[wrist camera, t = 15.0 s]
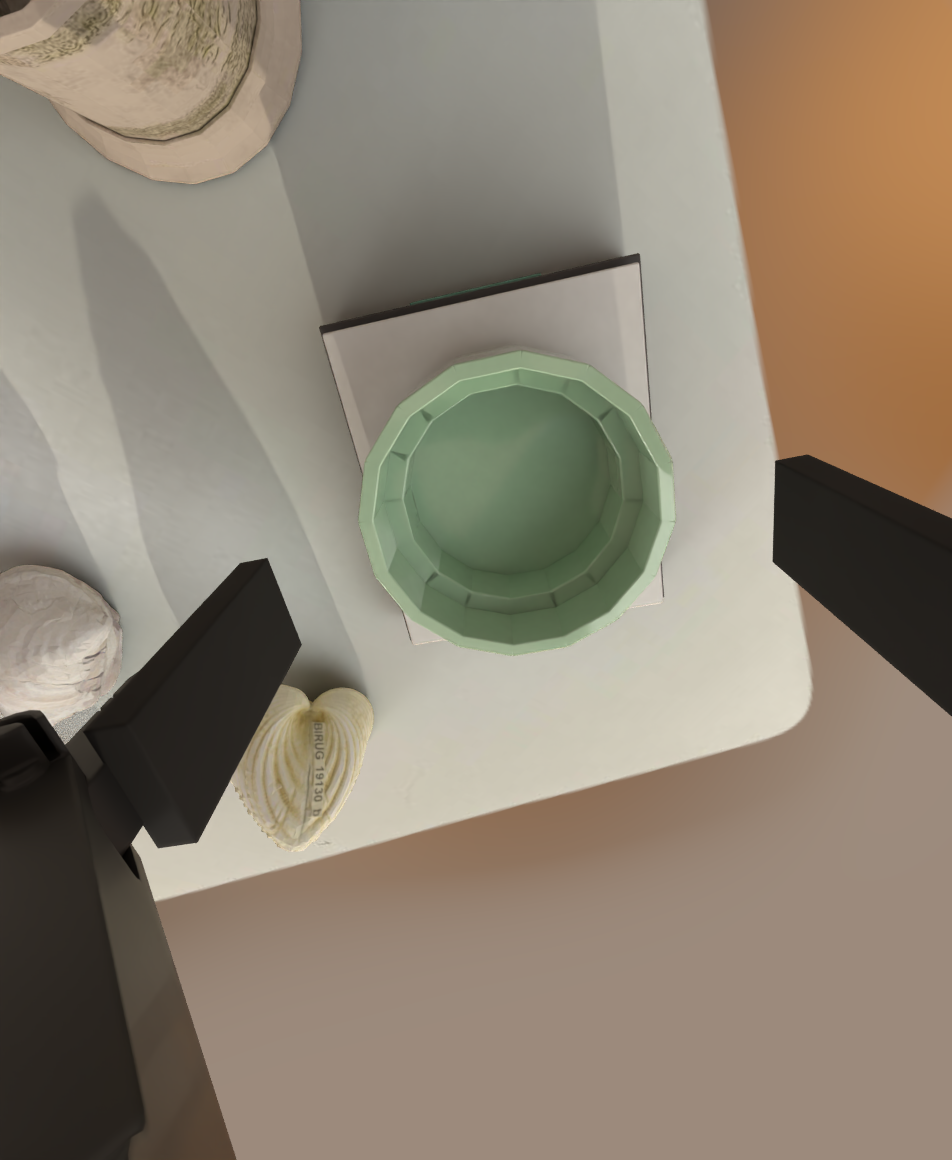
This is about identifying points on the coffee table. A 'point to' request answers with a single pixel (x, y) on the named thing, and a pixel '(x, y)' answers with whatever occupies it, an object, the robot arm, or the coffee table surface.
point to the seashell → (303, 763)
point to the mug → (160, 76)
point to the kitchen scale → (485, 320)
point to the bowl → (517, 501)
